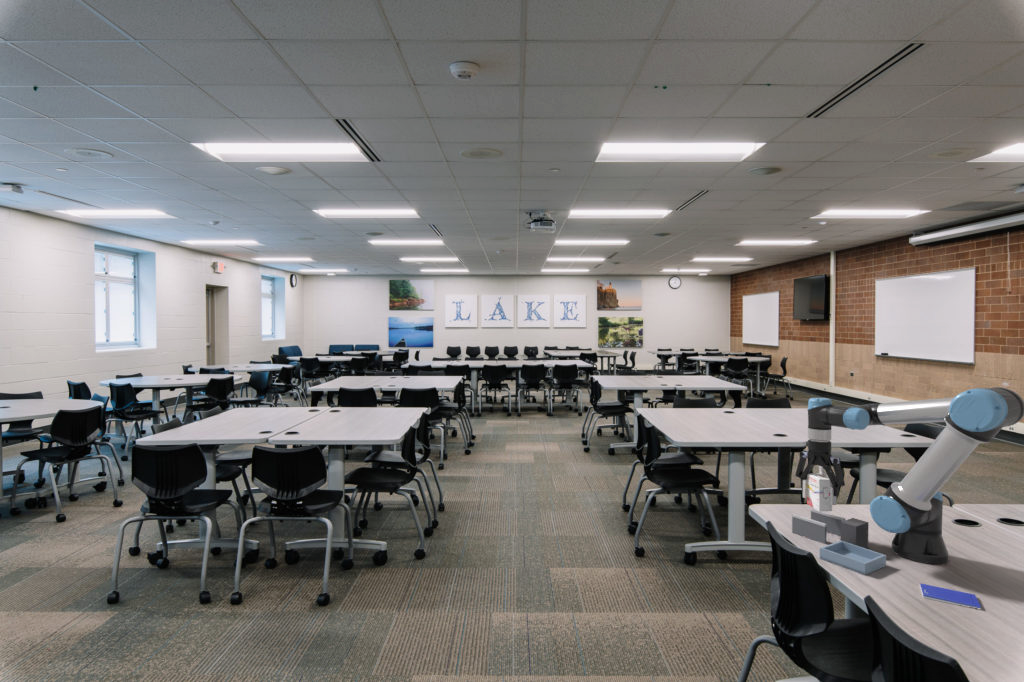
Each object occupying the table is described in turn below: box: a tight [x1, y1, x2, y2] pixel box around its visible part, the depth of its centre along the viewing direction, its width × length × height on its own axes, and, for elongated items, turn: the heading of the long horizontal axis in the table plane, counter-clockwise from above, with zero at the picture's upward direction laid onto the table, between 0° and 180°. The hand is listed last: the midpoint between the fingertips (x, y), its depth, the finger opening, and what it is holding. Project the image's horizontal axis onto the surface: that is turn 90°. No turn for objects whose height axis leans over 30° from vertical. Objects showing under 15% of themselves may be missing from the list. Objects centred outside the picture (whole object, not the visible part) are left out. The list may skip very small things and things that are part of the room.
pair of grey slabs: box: [791, 508, 846, 544], centre depth 195 cm, size 12×13×7 cm
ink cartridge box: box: [806, 465, 833, 512], centre depth 194 cm, size 9×5×15 cm, turn 179°
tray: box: [819, 540, 887, 576], centre depth 171 cm, size 14×13×4 cm
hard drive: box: [918, 583, 982, 610], centre depth 149 cm, size 2×8×12 cm
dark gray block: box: [839, 517, 869, 549], centre depth 183 cm, size 5×8×9 cm, turn 120°
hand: (819, 500), depth 194 cm, fingers closed on ink cartridge box, 9 cm apart
